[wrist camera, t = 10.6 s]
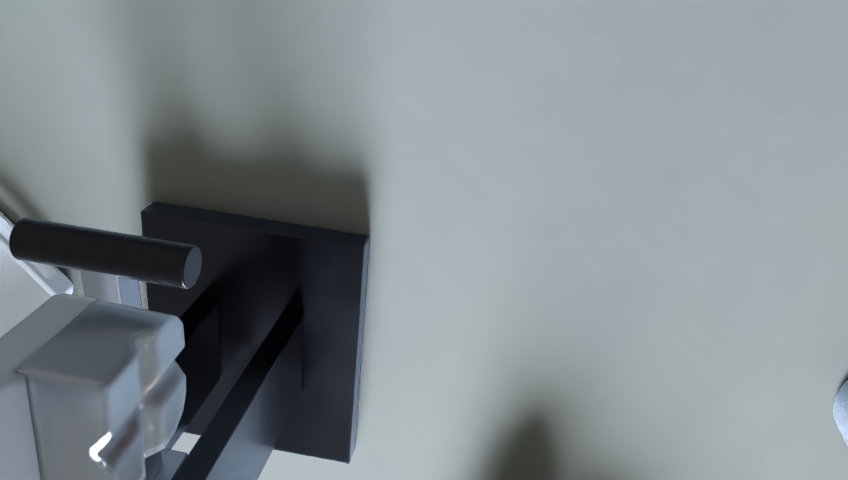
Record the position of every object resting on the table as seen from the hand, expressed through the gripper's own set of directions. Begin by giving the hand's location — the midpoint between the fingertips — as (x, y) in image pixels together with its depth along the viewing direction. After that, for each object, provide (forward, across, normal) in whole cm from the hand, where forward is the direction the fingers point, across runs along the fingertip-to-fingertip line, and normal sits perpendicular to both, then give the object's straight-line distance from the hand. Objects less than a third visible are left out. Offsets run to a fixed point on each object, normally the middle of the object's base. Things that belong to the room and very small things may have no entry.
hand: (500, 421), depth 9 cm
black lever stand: (+21, +10, +14) cm, 28 cm away
